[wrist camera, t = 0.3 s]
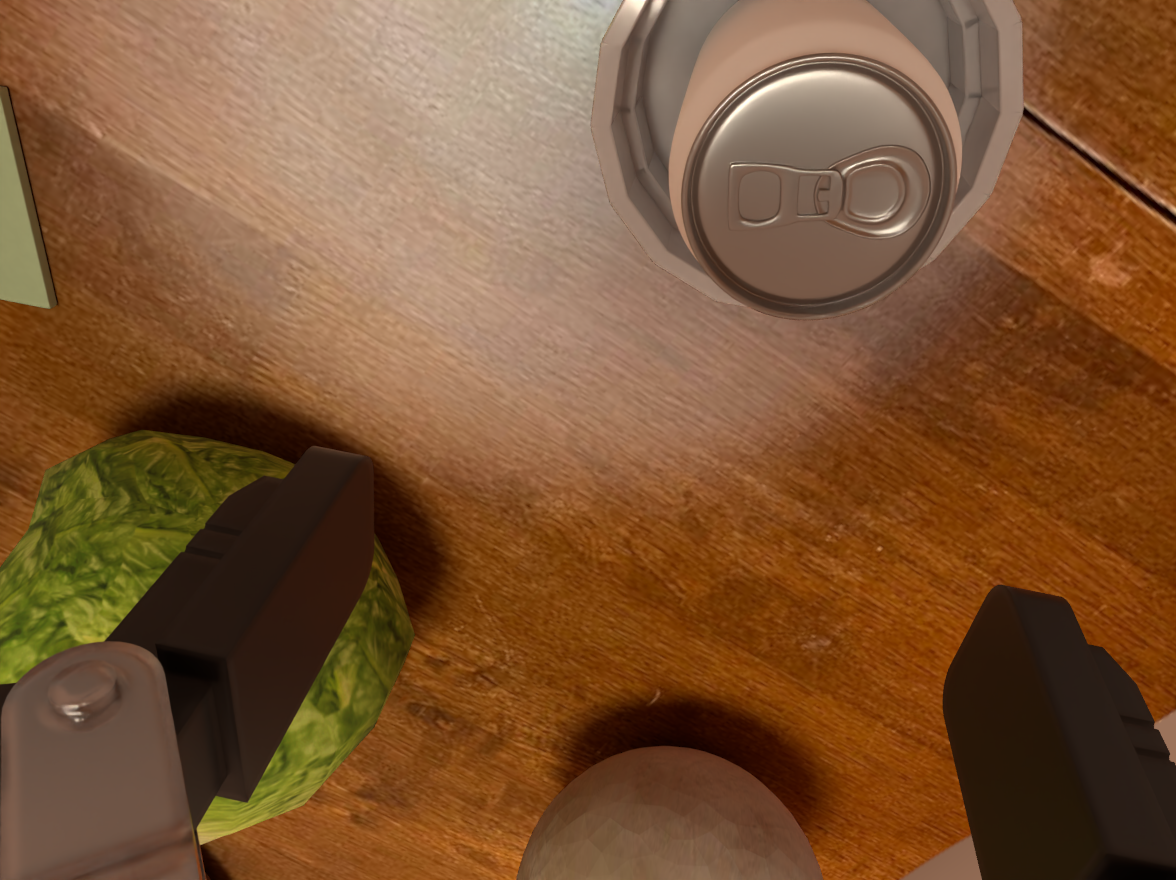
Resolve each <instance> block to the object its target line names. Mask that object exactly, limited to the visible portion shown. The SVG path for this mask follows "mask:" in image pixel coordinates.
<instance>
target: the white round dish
mask: <svg viewBox="0 0 1176 880" xmlns="http://www.w3.org/2000/svg"><path fill="white" fill-rule="evenodd" d="M738 1H739V0H623V1H622V3H621V5H620V7H619V9H618V11H617V13H616V15H615V16H614V18H613V20H612V22H611V24H610V26H609V28H608V30H607V31H606V33H605V35H604V37H603V39H602V42H601V45H600V53H599V61H598V69H597V77H596V85H595V93H594V101H593V109H592V117H591V125H590V126H591V132H592V136H593V139H594V143H595V147H596V151H597V155H598V159H599V163H600V167H601V171H602V175H603V179H604V183H605V187H606V190H607V194H608V198H609V202H610V203H611V206H612V207H613V209H614V210H615V211H616V213H617V214H618V215H619V217H620V218H621V219H622V221H623V222H624V224H625V225H626V226H627V228H628V229H629V230H630V232H631V233H632V235H633V236H634V237H635V239H636V240H637V241H638V243H639V244H640V245H641V247H642V248H643V250H644V251H645V252H646V254H647V255H648V256H649V258H650V259H651V260H652V262H655V265H657V266H659V267H660V268H662V269H663V270H665V271H667V272H668V273H670V274H672V275H673V276H675V277H676V278H678V279H680V280H681V281H683V282H685V283H686V284H688V285H689V286H691V287H693V288H694V289H696V290H697V291H699V292H701V293H702V294H704V295H706V296H707V297H709V298H710V299H712V300H714V301H716V302H721V303H726V304H732V305H737V306H743V307H747V306H745V305H743V304H742V303H740V302H738V301H737V300H735V299H734V298H732V297H731V296H729V295H728V294H727V293H725V292H724V291H723V290H722V289H721V288H720V287H718V286H717V285H716V284H715V283H714V281H713V280H712V279H711V278H710V277H709V276H708V275H707V273H706V272H705V271H704V269H703V268H702V266H701V265H700V263H699V262H698V261H697V260H696V258H695V257H694V256H693V254H692V253H691V251H690V250H689V248H688V247H687V245H686V243H685V241H684V240H683V238H682V235H681V233H680V231H679V229H678V226H677V223H676V221H675V217H674V214H673V210H672V205H671V200H670V192H669V159H670V152H671V146H672V141H673V136H674V132H675V128H676V125H677V121H678V118H679V114H680V111H681V107H682V104H683V101H684V97H685V94H686V91H687V87H688V84H689V81H690V78H691V75H692V72H693V69H694V66H695V63H696V60H697V57H698V55H699V52H700V50H701V48H702V46H703V44H704V42H705V40H706V38H707V36H708V34H709V33H710V31H711V30H712V28H713V27H714V25H715V24H716V23H717V22H718V20H719V19H720V18H721V17H722V16H723V15H724V14H725V13H726V12H727V11H728V10H729V9H730V8H731V7H732V6H733V5H734V4H735V3H737V2H738ZM866 1H867V2H869V3H870V4H871V5H872V6H873V7H874V8H876V9H877V10H878V11H879V12H880V13H881V14H882V15H883V16H884V17H885V18H886V19H887V20H888V21H889V22H891V23H892V24H893V25H894V26H895V27H896V28H897V29H898V30H899V31H900V32H901V33H902V34H903V35H904V36H905V37H906V38H907V39H908V40H909V41H910V42H911V43H912V44H913V45H914V46H915V47H916V48H917V49H918V50H919V51H920V52H921V53H922V54H923V55H924V57H925V58H926V59H927V60H928V61H929V62H930V64H931V65H932V66H933V68H934V69H935V70H936V72H937V73H938V74H939V76H940V78H941V79H942V81H943V82H944V84H945V86H946V88H947V90H948V92H949V94H950V96H951V99H952V101H953V104H954V107H955V110H956V113H957V117H958V121H959V125H960V131H961V139H962V165H961V173H960V179H959V184H958V188H957V191H956V195H955V201H954V205H953V209H952V213H951V216H950V219H949V222H948V224H947V227H946V229H945V231H944V233H943V235H942V237H941V239H940V241H939V243H938V245H937V246H936V248H935V249H934V251H933V252H932V254H931V255H930V257H929V258H928V259H927V261H926V262H925V263H924V264H923V266H922V267H924V266H926V265H927V264H929V263H931V262H932V261H933V260H935V259H936V258H937V257H938V256H939V254H940V253H941V252H942V251H943V250H944V249H945V248H946V246H947V245H948V244H949V243H950V242H951V241H952V240H953V238H954V237H955V236H956V235H957V234H958V233H959V232H960V230H961V229H962V228H963V227H964V226H965V225H966V224H967V223H968V221H969V220H970V219H971V218H972V217H973V216H974V215H975V213H976V212H977V211H978V210H979V209H980V208H981V207H982V205H983V204H984V203H985V202H986V201H987V200H988V199H989V197H990V195H991V194H992V192H993V190H994V187H995V184H996V182H997V179H998V177H999V174H1000V172H1001V169H1002V166H1003V164H1004V161H1005V159H1006V156H1007V154H1008V151H1009V148H1010V146H1011V143H1012V141H1013V138H1014V136H1015V133H1016V130H1017V128H1018V125H1019V123H1020V120H1021V118H1022V115H1023V112H1022V111H1023V109H1024V89H1023V24H1022V21H1021V16H1020V14H1019V12H1018V9H1017V7H1016V5H1015V3H1014V1H1013V0H866ZM922 267H921V268H922ZM748 308H749V307H748Z"/></svg>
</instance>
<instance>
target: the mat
mask: <svg viewBox="0 0 1176 880" xmlns="http://www.w3.org/2000/svg"><path fill="white" fill-rule="evenodd" d="M0 299H1V300H6V301H11V302H16V303H22V304H27V305H32V306H37V307H42V308H48V309H51V308H52V307H54V306H56V305H57V301H56V297H55V292H54V288H53V284H52V279H51V275H50V271H49V266H48V262H47V258H46V253H45V249H44V245H43V240H42V236H41V232H40V227H39V223H38V219H37V214H36V210H35V206H34V201H33V197H32V193H31V188H30V184H29V180H28V175H27V171H26V167H25V162H24V158H23V154H22V149H21V145H20V141H19V136H18V132H17V128H16V123H15V119H14V115H13V110H12V106H11V102H10V97H9V93H8V89H7V87H3V86H0Z"/></svg>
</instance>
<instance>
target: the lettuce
mask: <svg viewBox="0 0 1176 880" xmlns="http://www.w3.org/2000/svg"><path fill="white" fill-rule="evenodd" d="M294 465H295V464H293V463H291V462H288V461H286V460H283V459H281V458H278V457H276V456H273V455H271V454H268V453H266V452H264V451H260V450H255V449H251V448H247V447H243V446H239V445H234V444H230V443H226V442H222V441H217V440H213V439H209V438H204V437H196V436H188V435H180V434H172V433H165V432H157V431H149V430H139V431H136V432H132V433H129V434H125V435H121V436H118V437H114V438H111V439H108V440H106V441H104V442H102V443H100V444H98V445H96V446H94V447H92V448H90V449H88V450H86V451H84V452H82V453H80V454H78V455H76V456H74V457H72V458H69V459H67V460H65V461H63V462H61V463H59V464H57V465H55V466H53V467H51V468H49V469H47V470H45V474H44V477H43V481H42V484H41V488H40V491H39V495H38V498H37V502H36V505H35V509H34V512H33V516H32V519H31V523H30V526H29V529H28V531H27V532H26V533H25V535H24V536H23V537H22V539H21V540H20V541H19V543H18V544H17V545H16V547H15V548H14V549H13V551H12V552H11V553H10V555H9V556H8V558H7V559H6V560H5V562H4V563H3V564H2V566H1V567H0V684H9V683H17V682H18V681H19V679H20V678H21V677H22V676H23V675H25V674H26V673H27V672H28V671H29V670H30V669H32V668H33V667H34V666H36V665H37V664H39V663H40V662H42V661H43V660H45V659H47V658H49V657H51V656H53V655H54V654H57V653H59V652H61V651H64V650H66V649H69V648H72V647H76V646H79V645H83V644H88V643H93V642H104V641H105V639H106V638H107V637H108V636H109V635H110V634H111V633H112V632H113V631H114V629H115V628H116V627H117V626H118V625H119V624H120V622H121V621H122V620H123V619H124V618H125V617H126V615H127V614H128V613H129V612H130V611H131V610H132V608H133V607H134V606H135V605H136V604H137V603H138V601H139V600H140V599H141V598H142V597H143V595H144V594H145V593H146V592H147V591H148V590H149V588H150V587H151V586H152V585H153V584H154V583H155V581H156V580H157V579H158V578H159V577H160V576H161V574H162V573H163V572H164V571H165V570H166V569H167V567H168V566H169V565H170V564H171V563H172V562H173V560H174V559H175V558H176V557H177V556H178V554H179V553H180V552H185V549H186V545H187V544H188V543H189V542H190V540H191V539H192V538H193V537H194V536H195V535H196V533H197V532H198V531H199V530H200V529H204V528H205V523H206V522H207V521H208V519H209V518H210V517H211V516H212V515H213V514H214V512H215V511H216V510H217V509H218V508H219V506H220V505H221V504H222V503H223V502H224V501H225V499H226V498H227V497H228V496H229V495H231V494H233V493H234V492H236V491H238V490H240V489H241V488H243V487H245V486H247V485H248V484H250V483H252V482H254V481H255V480H257V479H259V478H261V477H262V476H264V475H265V476H270V477H275V478H280V479H284V478H285V477H286V476H287V474H288V473H289V472H290V471H291V469H292V468H293V467H294ZM414 636H415V633H414V630H413V627H412V623H411V620H410V617H409V614H408V610H407V607H406V604H405V601H404V597H403V594H402V591H401V588H400V584H399V581H398V578H397V576H396V574H395V572H394V570H393V568H392V566H391V564H390V562H389V560H388V558H387V556H386V554H385V551H384V549H383V547H382V545H381V543H380V541H379V539H378V537H377V536H376V535H375V533H374V556H373V562H372V567H371V571H370V575H369V578H368V581H367V584H366V586H365V589H364V591H363V593H362V595H361V597H360V599H359V600H358V602H357V604H356V606H355V608H354V609H353V611H352V613H351V615H350V617H349V619H348V620H347V622H346V624H345V626H344V628H343V630H342V631H341V633H340V635H339V637H338V639H337V641H336V642H335V644H334V646H333V648H332V650H331V652H330V653H329V655H328V657H327V659H326V661H325V662H324V664H323V666H322V668H321V670H320V672H319V673H318V675H317V677H316V679H315V681H314V683H313V684H312V686H311V688H310V690H309V692H308V694H307V695H306V697H305V699H304V701H303V703H302V705H301V706H300V708H299V710H298V712H297V714H296V715H295V717H294V719H293V721H292V723H291V725H290V726H289V728H288V730H287V732H286V734H285V736H284V737H283V739H282V741H281V743H280V745H279V747H278V748H277V750H276V752H275V754H274V756H273V758H272V759H271V761H270V763H269V765H268V767H267V768H266V770H265V772H264V774H263V776H262V778H261V779H260V781H259V783H258V785H257V787H256V789H255V790H254V792H253V794H252V796H251V798H250V800H249V801H248V803H245V802H241V801H236V800H232V799H227V798H223V797H218V796H215V798H214V799H213V801H212V803H211V805H210V806H209V808H208V810H207V811H206V813H205V815H204V817H203V818H202V820H201V822H200V823H199V825H198V827H197V832H198V837H199V842H200V845H202V844H205V843H207V842H210V841H212V840H214V839H217V838H219V837H222V836H225V835H229V834H232V833H234V832H237V831H239V830H242V829H244V828H247V827H250V826H252V825H255V824H257V823H260V822H262V821H265V820H267V819H270V818H272V817H275V816H277V815H280V814H283V813H285V812H288V811H290V810H293V809H295V808H298V807H300V806H303V805H304V804H305V803H306V802H307V801H308V800H309V799H310V797H311V796H312V795H313V794H314V793H315V792H316V791H317V790H318V789H319V787H320V786H321V785H322V784H323V783H324V782H325V781H326V780H327V779H328V777H329V776H330V775H331V774H332V773H333V772H334V771H335V770H336V769H337V768H338V766H339V765H340V764H341V763H342V762H343V761H344V760H345V759H346V758H347V756H348V755H349V754H350V753H351V752H352V751H353V750H354V749H355V748H356V747H357V745H358V744H359V743H360V742H361V741H362V740H363V739H364V738H365V737H366V736H367V734H368V733H369V732H370V731H371V730H372V729H373V728H374V726H375V724H376V722H377V720H378V718H379V716H380V713H381V711H382V709H383V707H384V705H385V703H386V701H387V699H388V696H389V694H390V692H391V690H392V688H393V686H394V684H395V682H396V679H397V677H398V675H399V673H400V671H401V669H402V667H403V665H404V662H405V660H406V657H407V655H408V652H409V649H410V647H411V644H412V641H413V639H414Z"/></svg>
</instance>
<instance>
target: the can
mask: <svg viewBox="0 0 1176 880" xmlns="http://www.w3.org/2000/svg"><path fill="white" fill-rule="evenodd" d="M961 165H962V139H961V131H960V125H959V121H958V117H957V113H956V110H955V107H954V104H953V101H952V99H951V96H950V94H949V92H948V90H947V88H946V86H945V84H944V82H943V81H942V79H941V78H940V76H939V74H938V73H937V72H936V70H935V69H934V68H933V66H932V65H931V64H930V62H929V61H928V60H927V59H926V58H925V57H924V55H923V54H922V53H921V52H920V51H919V50H918V49H917V48H916V47H915V46H914V45H913V44H912V43H911V42H910V41H909V40H908V39H907V38H906V37H905V36H904V35H903V34H902V33H901V32H900V31H899V30H898V29H897V28H896V27H895V26H894V25H893V24H892V23H891V22H889V21H888V20H887V19H886V18H885V17H884V16H883V15H882V14H881V13H880V12H879V11H878V10H877V9H876V8H874V7H873V6H872V5H871V4H870V3H869V2H867V1H866V0H739V1H738V2H737V3H735V4H734V5H733V6H732V7H731V8H730V9H729V10H728V11H727V12H726V13H725V14H724V15H723V16H722V17H721V18H720V19H719V20H718V22H717V23H716V24H715V25H714V27H713V28H712V30H711V31H710V33H709V34H708V36H707V38H706V40H705V42H704V44H703V46H702V48H701V50H700V52H699V55H698V57H697V60H696V63H695V66H694V69H693V72H692V75H691V78H690V81H689V84H688V87H687V91H686V94H685V97H684V101H683V104H682V107H681V111H680V114H679V118H678V121H677V125H676V128H675V132H674V136H673V141H672V146H671V152H670V159H669V192H670V200H671V205H672V210H673V214H674V217H675V221H676V223H677V226H678V229H679V231H680V233H681V235H682V238H683V240H684V241H685V243H686V245H687V247H688V248H689V250H690V251H691V253H692V254H693V256H694V257H695V258H696V260H697V261H698V262H699V263H700V265H701V266H702V268H703V269H704V271H705V272H706V273H707V275H708V276H709V277H710V278H711V279H712V280H713V281H714V283H715V284H716V285H717V286H718V287H720V288H721V289H722V290H723V291H724V292H725V293H727V294H728V295H729V296H731V297H732V298H734V299H735V300H737V301H738V302H740V303H742V304H743V305H745V306H747V307H749V308H752V309H754V310H756V311H759V312H761V313H764V314H768V315H771V316H775V317H780V318H785V319H793V320H820V319H828V318H834V317H839V316H843V315H847V314H850V313H853V312H856V311H859V310H861V309H864V308H866V307H868V306H871V305H873V304H875V303H876V302H878V301H880V300H882V299H884V298H885V297H887V296H888V295H890V294H891V293H893V292H894V291H896V290H897V289H898V288H900V287H901V286H902V285H903V284H905V283H906V282H907V281H908V280H909V279H910V278H911V277H912V276H913V275H914V274H915V273H916V272H917V271H918V270H919V269H920V268H921V267H922V266H923V264H924V263H925V262H926V261H927V259H928V258H929V257H930V255H931V254H932V252H933V251H934V249H935V248H936V246H937V245H938V243H939V241H940V239H941V237H942V235H943V233H944V231H945V229H946V227H947V224H948V222H949V219H950V216H951V213H952V209H953V205H954V201H955V195H956V191H957V188H958V184H959V179H960V173H961Z"/></svg>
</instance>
